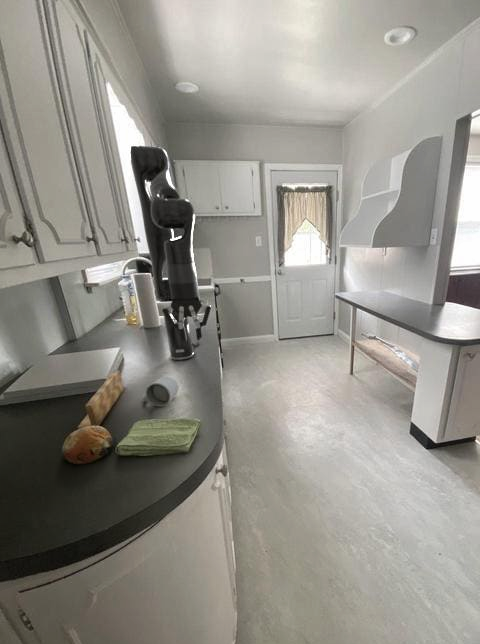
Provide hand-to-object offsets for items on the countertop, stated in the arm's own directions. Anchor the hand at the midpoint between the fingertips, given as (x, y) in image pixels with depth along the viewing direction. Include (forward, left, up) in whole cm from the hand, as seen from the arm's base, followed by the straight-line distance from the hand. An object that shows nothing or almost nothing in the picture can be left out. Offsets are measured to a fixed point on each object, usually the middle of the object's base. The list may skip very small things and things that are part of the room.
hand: (191, 339), depth 90 cm
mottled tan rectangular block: (0, -29, -19) cm, 35 cm away
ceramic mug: (0, -12, -19) cm, 23 cm away
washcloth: (+22, -8, -19) cm, 30 cm away
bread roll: (+23, -24, -19) cm, 38 cm away
